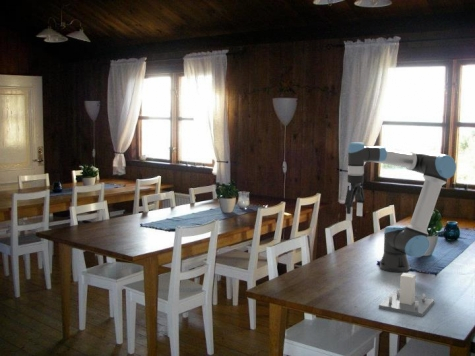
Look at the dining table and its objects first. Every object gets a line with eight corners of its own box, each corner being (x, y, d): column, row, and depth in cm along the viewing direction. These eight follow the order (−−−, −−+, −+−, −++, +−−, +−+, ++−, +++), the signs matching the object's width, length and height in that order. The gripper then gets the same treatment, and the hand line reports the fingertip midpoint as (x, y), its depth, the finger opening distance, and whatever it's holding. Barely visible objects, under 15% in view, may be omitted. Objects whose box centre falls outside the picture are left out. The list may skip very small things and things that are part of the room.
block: (402, 299, 235) (403, 272, 234) (414, 301, 233) (415, 274, 231) (399, 302, 231) (400, 275, 230) (411, 304, 229) (412, 277, 227)
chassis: (393, 295, 245) (393, 285, 245) (434, 302, 235) (434, 292, 235) (378, 308, 229) (379, 298, 228) (422, 317, 219) (422, 306, 218)
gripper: (357, 171, 271) (356, 213, 274) (338, 176, 251) (336, 221, 253) (372, 172, 267) (370, 214, 270) (353, 177, 247) (352, 223, 249)
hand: (354, 218), depth 262 cm, fingers open, 13 cm apart
